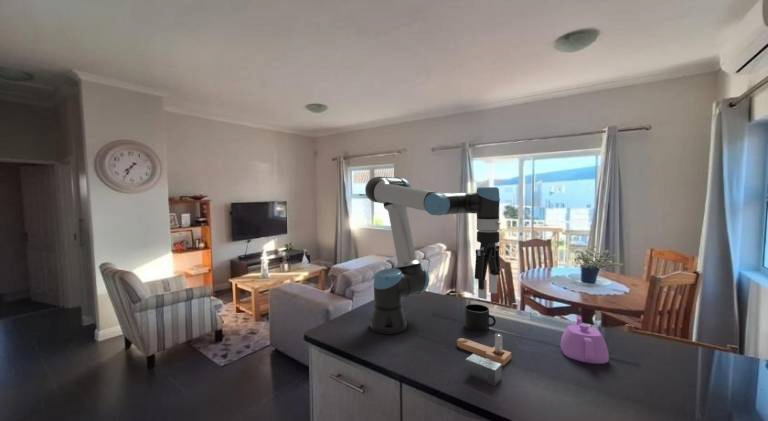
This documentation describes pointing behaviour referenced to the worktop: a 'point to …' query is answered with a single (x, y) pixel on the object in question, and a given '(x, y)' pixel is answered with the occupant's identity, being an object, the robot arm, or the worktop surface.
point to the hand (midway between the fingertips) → (487, 295)
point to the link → (484, 351)
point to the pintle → (498, 344)
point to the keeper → (487, 367)
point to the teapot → (584, 343)
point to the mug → (477, 318)
